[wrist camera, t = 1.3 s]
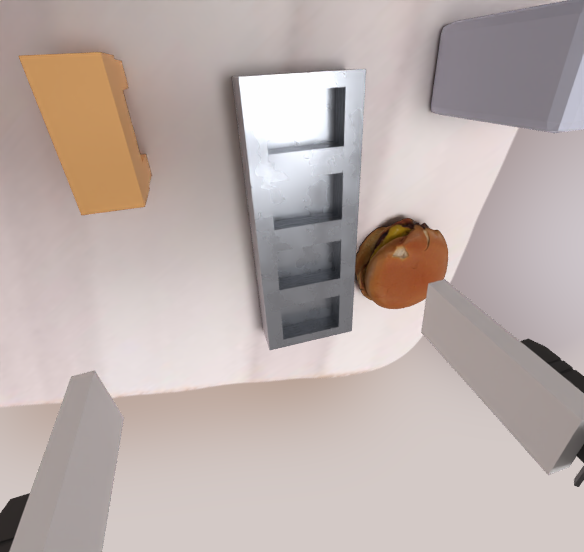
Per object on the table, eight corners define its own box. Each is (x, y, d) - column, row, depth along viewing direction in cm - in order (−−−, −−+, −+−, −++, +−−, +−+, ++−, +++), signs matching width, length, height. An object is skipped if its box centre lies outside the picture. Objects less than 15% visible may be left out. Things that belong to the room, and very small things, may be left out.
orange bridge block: (60, 60, 22) (18, 55, 16) (120, 57, 23) (100, 52, 17) (103, 183, 26) (81, 215, 20) (152, 177, 27) (145, 206, 21)
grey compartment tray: (231, 76, 25) (238, 77, 22) (345, 69, 27) (365, 69, 24) (262, 328, 37) (269, 350, 35) (339, 311, 39) (351, 330, 36)
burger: (391, 305, 41) (412, 329, 38) (335, 276, 37) (353, 299, 33) (446, 239, 39) (476, 257, 35) (393, 199, 34) (420, 214, 30)
